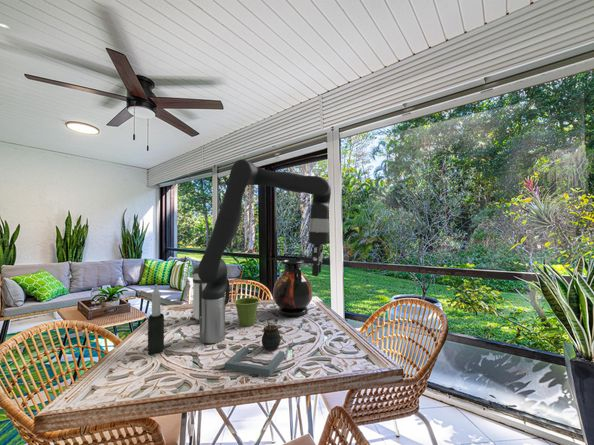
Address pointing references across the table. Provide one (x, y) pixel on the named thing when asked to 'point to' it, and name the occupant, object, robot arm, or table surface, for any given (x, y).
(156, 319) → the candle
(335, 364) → the table surface
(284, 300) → the amphora vase
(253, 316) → the plant pot
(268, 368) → the frame
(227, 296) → the coffee press
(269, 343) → the mate gourd
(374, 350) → the table surface
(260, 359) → the table surface
